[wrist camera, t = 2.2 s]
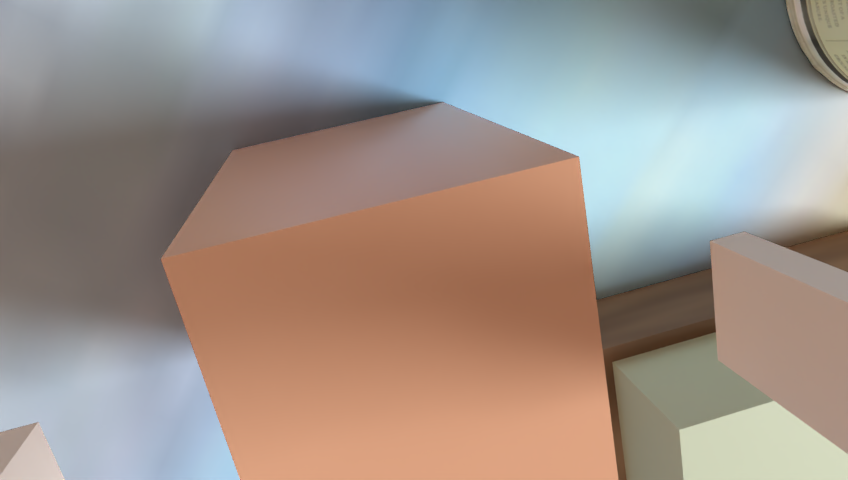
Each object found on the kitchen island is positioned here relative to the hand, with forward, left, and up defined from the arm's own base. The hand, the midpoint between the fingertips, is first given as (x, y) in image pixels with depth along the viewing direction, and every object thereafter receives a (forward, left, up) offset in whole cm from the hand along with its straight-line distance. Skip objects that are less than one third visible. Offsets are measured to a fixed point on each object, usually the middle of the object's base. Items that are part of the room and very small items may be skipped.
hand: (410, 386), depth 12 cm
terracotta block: (0, 0, -10) cm, 10 cm away
